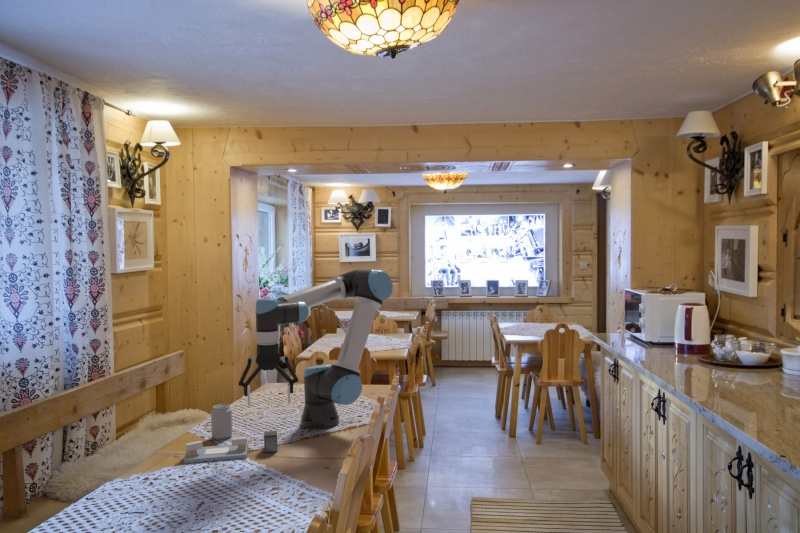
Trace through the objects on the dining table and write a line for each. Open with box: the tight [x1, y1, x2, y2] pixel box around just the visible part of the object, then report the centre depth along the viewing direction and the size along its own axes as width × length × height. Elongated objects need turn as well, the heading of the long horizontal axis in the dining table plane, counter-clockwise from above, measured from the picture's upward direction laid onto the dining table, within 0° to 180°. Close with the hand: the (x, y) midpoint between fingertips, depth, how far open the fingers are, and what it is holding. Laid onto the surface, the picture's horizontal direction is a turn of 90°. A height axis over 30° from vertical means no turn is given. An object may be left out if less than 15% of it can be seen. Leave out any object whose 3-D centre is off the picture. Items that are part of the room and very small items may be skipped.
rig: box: [183, 436, 249, 465], centre depth 206 cm, size 20×12×5 cm, turn 102°
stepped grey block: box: [263, 430, 278, 454], centre depth 209 cm, size 7×4×6 cm
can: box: [210, 403, 233, 441], centre depth 225 cm, size 8×8×12 cm
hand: (269, 404), depth 209 cm, fingers open, 13 cm apart
